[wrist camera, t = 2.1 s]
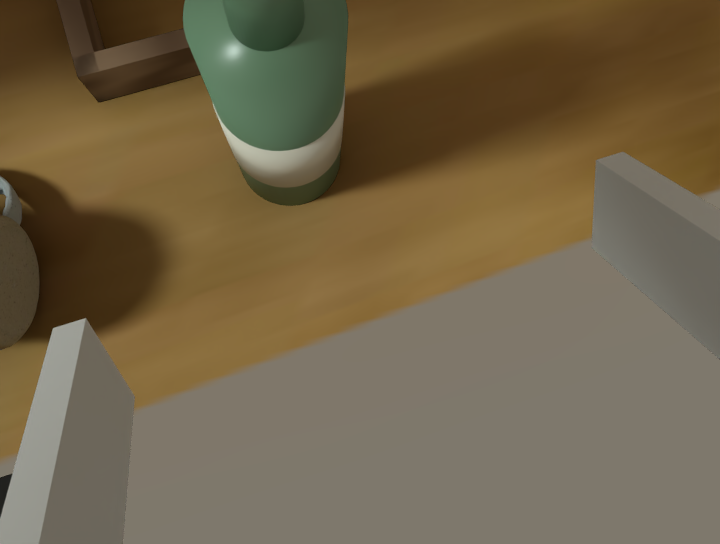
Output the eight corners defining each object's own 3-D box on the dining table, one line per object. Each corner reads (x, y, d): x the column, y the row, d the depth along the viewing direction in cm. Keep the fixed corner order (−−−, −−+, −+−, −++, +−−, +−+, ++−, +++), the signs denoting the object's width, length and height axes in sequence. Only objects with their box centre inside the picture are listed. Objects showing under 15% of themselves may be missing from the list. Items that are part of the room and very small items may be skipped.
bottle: (228, 194, 35) (96, -47, 15) (252, 100, 36) (159, -239, 16) (329, 215, 35) (332, 4, 15) (350, 121, 36) (377, -191, 16)
